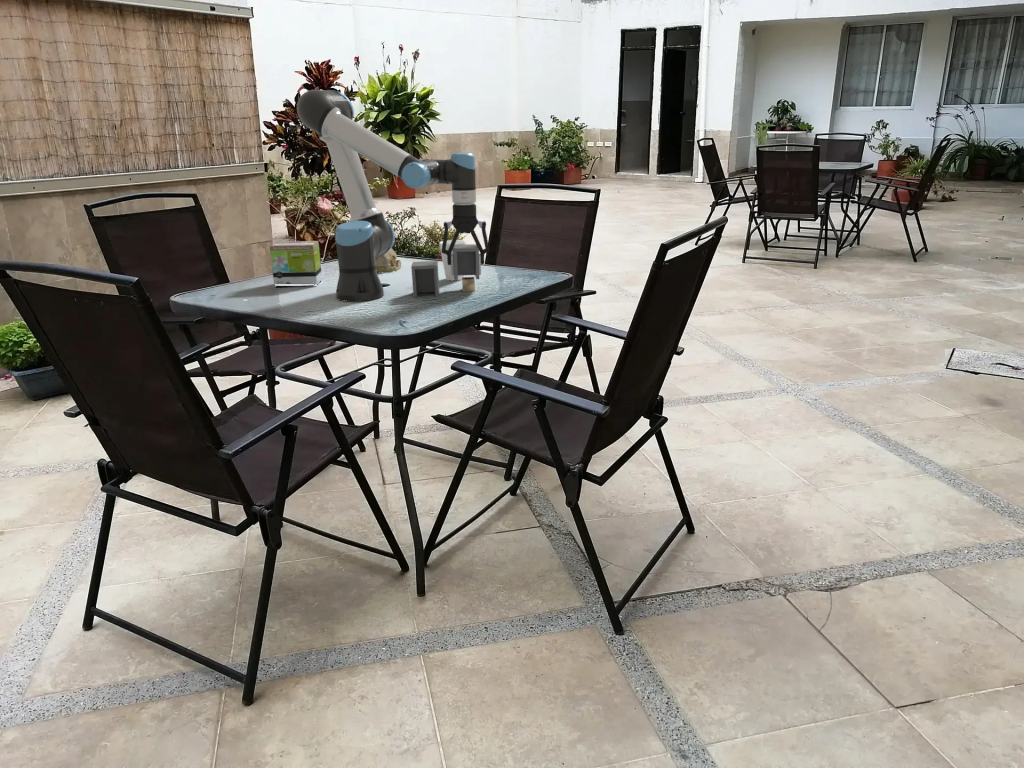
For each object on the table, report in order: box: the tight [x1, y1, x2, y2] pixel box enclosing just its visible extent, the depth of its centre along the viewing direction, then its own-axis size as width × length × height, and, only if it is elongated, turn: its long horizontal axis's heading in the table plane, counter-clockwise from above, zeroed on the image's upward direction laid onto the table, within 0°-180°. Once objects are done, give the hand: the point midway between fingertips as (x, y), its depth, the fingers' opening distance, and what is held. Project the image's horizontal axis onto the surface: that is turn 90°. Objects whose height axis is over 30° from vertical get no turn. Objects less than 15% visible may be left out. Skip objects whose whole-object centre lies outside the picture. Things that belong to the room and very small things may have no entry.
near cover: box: [410, 260, 440, 298], centre depth 251 cm, size 8×8×10 cm
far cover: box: [453, 243, 480, 281], centre depth 254 cm, size 8×8×10 cm
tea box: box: [269, 240, 323, 285], centre depth 273 cm, size 15×10×15 cm, turn 92°
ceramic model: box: [375, 247, 402, 273], centre depth 296 cm, size 14×11×10 cm
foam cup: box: [438, 239, 467, 282], centre depth 273 cm, size 10×9×13 cm
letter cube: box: [461, 276, 476, 292], centre depth 256 cm, size 4×4×4 cm
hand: (466, 274), depth 255 cm, fingers closed on far cover, 8 cm apart
